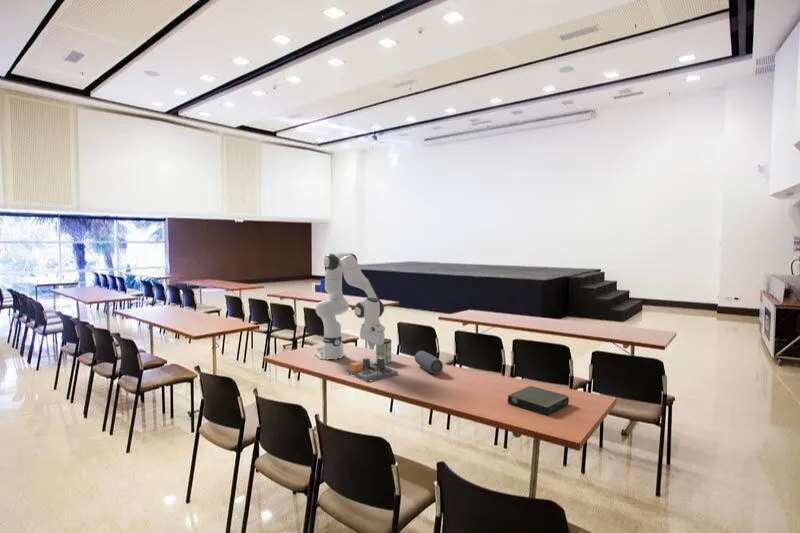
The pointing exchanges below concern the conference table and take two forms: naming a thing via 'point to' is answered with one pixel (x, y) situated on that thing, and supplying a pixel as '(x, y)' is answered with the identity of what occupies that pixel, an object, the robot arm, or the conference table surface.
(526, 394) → the network switch
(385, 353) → the coffee can
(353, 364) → the orange block
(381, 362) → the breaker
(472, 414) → the conference table surface
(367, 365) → the block
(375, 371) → the panel
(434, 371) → the bluetooth speaker
